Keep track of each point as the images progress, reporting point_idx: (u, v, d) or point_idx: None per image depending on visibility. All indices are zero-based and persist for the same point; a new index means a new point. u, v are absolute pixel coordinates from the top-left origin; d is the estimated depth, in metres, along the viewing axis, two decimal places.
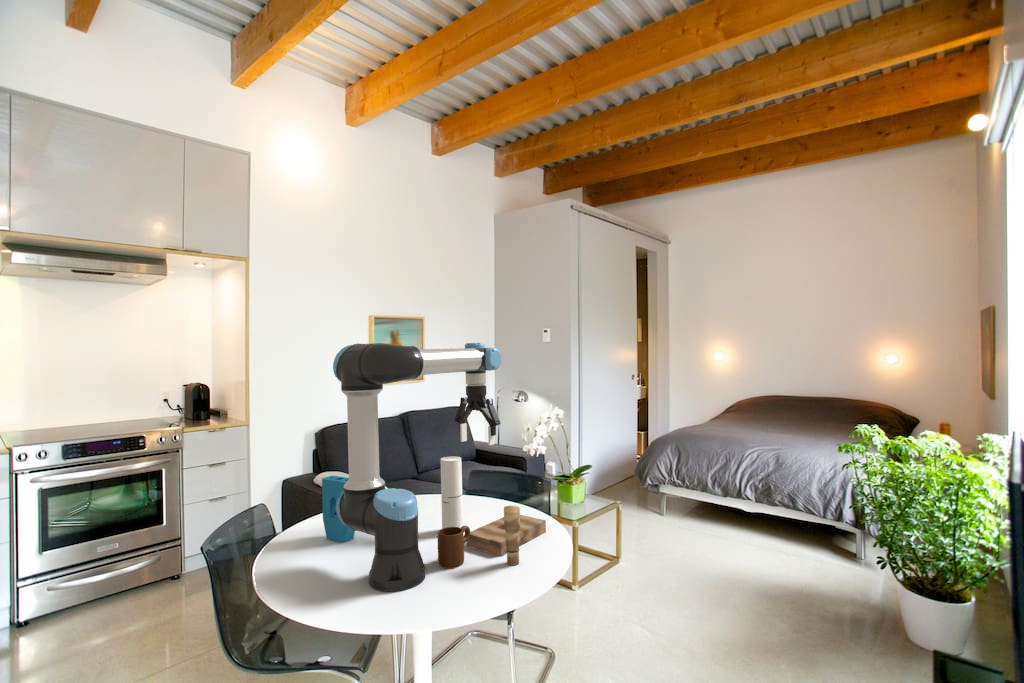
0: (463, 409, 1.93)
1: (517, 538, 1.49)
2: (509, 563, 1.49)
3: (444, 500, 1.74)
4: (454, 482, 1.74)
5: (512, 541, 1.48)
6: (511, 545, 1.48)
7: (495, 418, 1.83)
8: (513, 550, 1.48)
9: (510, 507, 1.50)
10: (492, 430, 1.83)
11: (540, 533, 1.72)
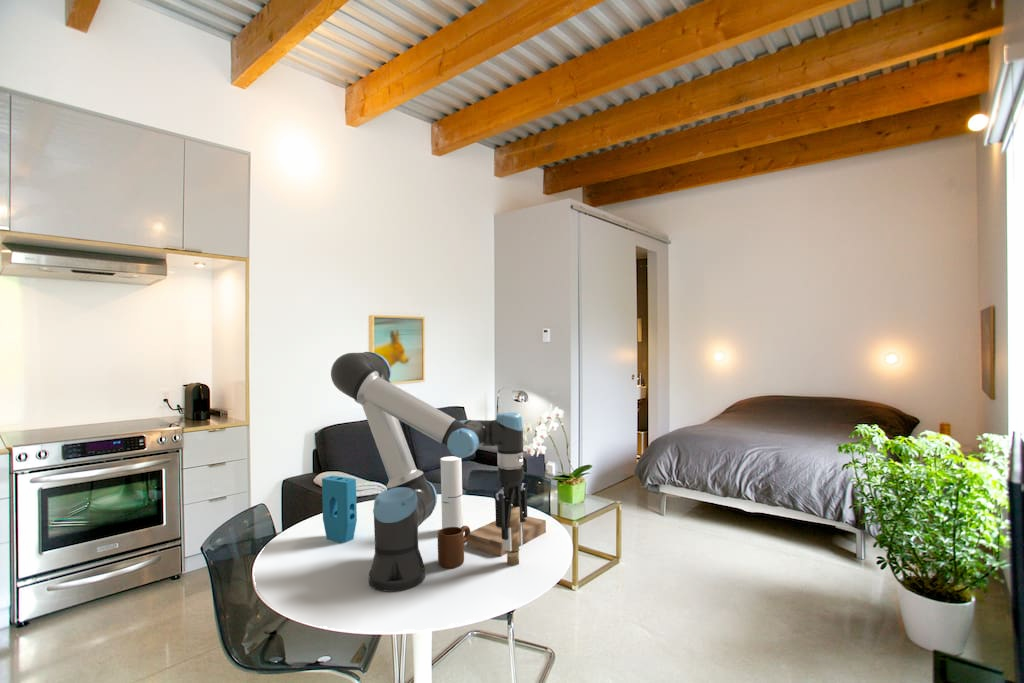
0: (522, 499, 1.54)
1: (517, 538, 1.49)
2: (509, 563, 1.49)
3: (444, 500, 1.74)
4: (454, 481, 1.74)
5: (512, 541, 1.48)
6: None
7: (497, 519, 1.46)
8: (513, 550, 1.48)
9: None
10: None
11: (540, 533, 1.72)
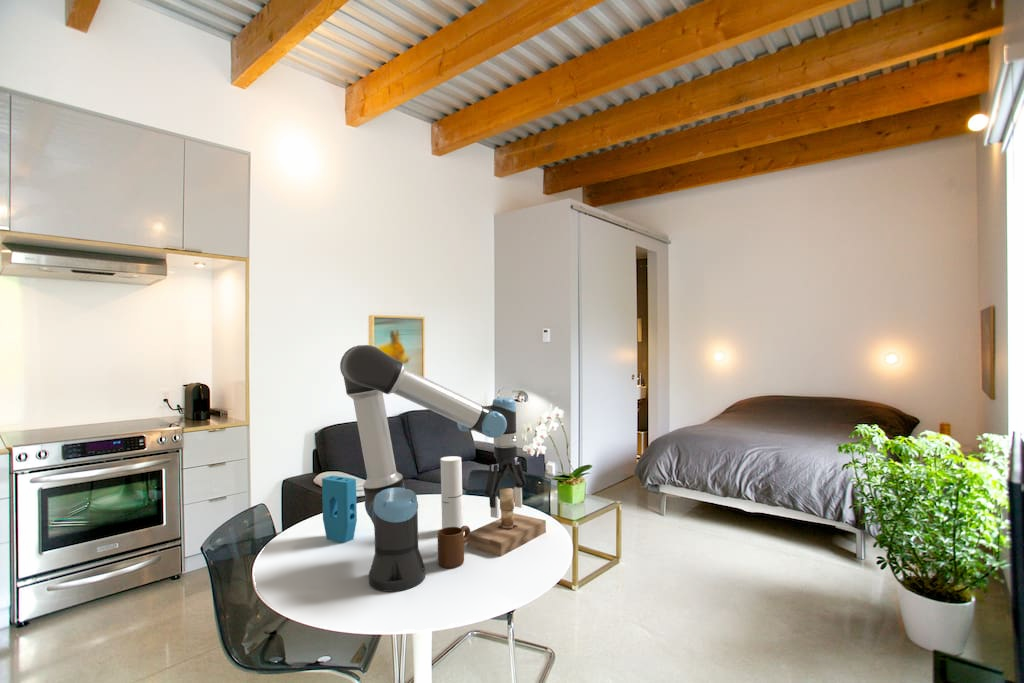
0: (518, 471, 1.74)
1: (511, 516, 1.68)
2: None
3: (444, 500, 1.74)
4: (454, 482, 1.74)
5: (506, 519, 1.67)
6: (505, 522, 1.67)
7: (487, 488, 1.62)
8: (508, 527, 1.67)
9: (505, 489, 1.69)
10: None
11: (540, 533, 1.72)
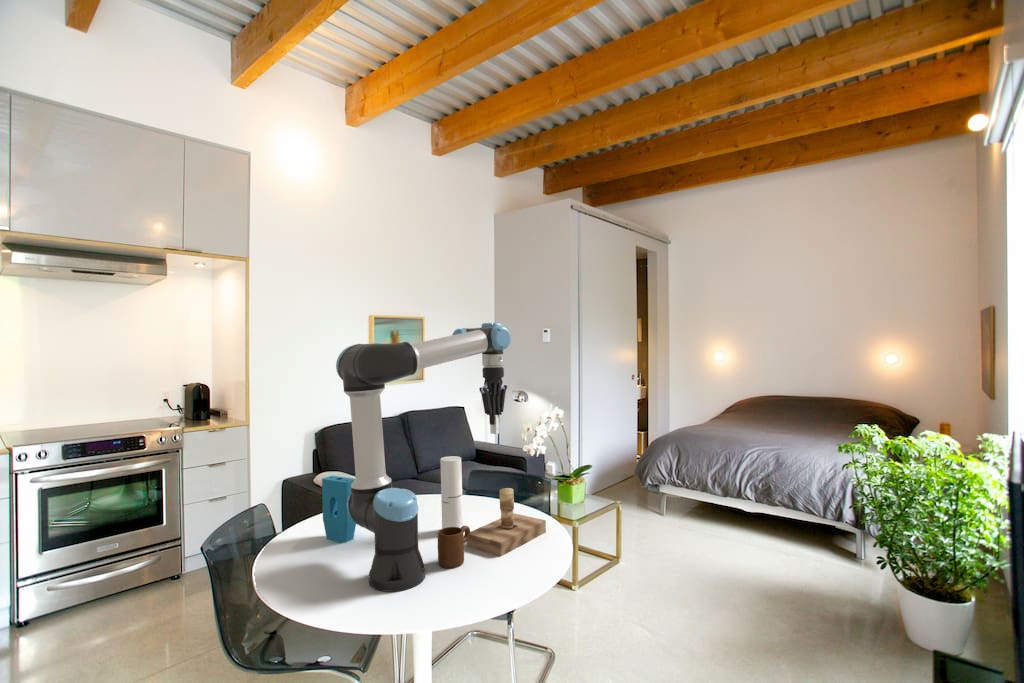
0: (500, 396, 1.85)
1: (511, 516, 1.68)
2: None
3: (444, 500, 1.74)
4: (454, 481, 1.74)
5: (506, 519, 1.67)
6: (505, 522, 1.67)
7: (485, 408, 1.79)
8: (508, 527, 1.67)
9: (505, 489, 1.69)
10: None
11: (540, 533, 1.72)
